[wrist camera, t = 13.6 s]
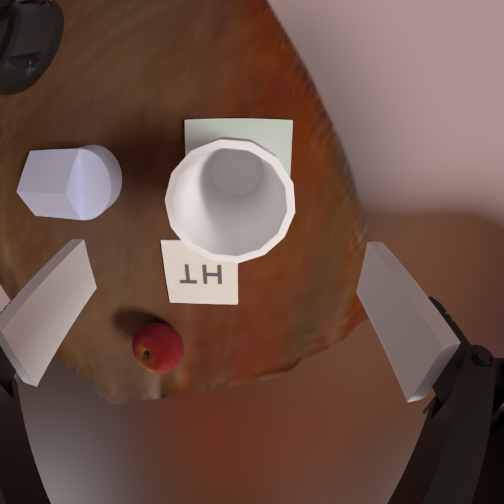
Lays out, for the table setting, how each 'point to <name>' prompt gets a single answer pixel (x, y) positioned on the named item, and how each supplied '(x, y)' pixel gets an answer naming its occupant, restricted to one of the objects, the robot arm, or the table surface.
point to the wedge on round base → (70, 182)
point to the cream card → (198, 276)
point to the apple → (158, 347)
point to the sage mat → (243, 134)
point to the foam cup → (230, 200)
